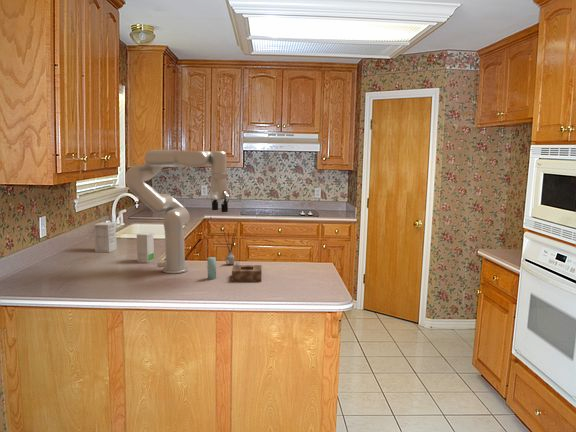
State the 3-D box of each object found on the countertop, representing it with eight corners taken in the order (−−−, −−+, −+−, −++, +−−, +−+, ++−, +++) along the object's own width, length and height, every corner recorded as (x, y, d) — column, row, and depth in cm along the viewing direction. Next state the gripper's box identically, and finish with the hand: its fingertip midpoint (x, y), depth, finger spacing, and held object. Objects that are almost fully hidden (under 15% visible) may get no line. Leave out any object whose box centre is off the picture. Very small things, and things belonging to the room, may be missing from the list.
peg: (207, 279, 244) (207, 259, 243) (208, 277, 248) (207, 257, 247) (215, 279, 244) (215, 259, 243) (216, 277, 248) (216, 257, 247)
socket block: (231, 281, 241) (231, 271, 240) (233, 275, 253) (233, 265, 252) (261, 281, 242) (261, 271, 241) (261, 275, 253) (261, 265, 253)
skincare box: (147, 263, 276) (146, 234, 274) (136, 262, 278) (135, 234, 275) (154, 259, 284) (154, 232, 282) (143, 259, 286) (143, 231, 284)
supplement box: (117, 249, 311) (116, 222, 309) (109, 252, 302) (108, 224, 300) (102, 249, 312) (101, 221, 310) (94, 252, 303) (93, 224, 301)
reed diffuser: (220, 264, 274) (220, 228, 271) (226, 262, 280) (226, 226, 278) (237, 266, 270) (237, 229, 268) (243, 263, 277) (243, 227, 274)
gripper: (204, 176, 255) (204, 209, 257) (220, 177, 241) (221, 213, 243) (217, 175, 259) (218, 208, 261) (234, 177, 245) (235, 212, 248)
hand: (219, 211), depth 252 cm, fingers open, 9 cm apart
